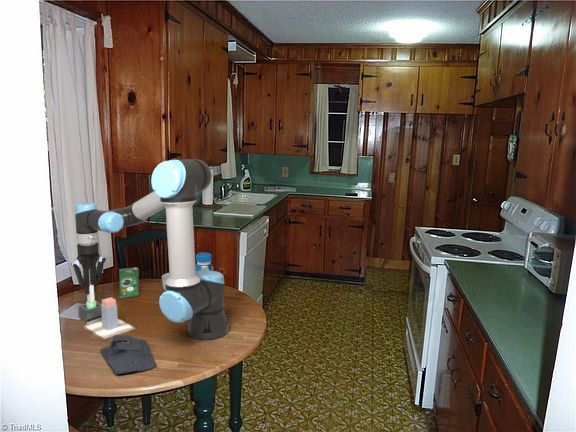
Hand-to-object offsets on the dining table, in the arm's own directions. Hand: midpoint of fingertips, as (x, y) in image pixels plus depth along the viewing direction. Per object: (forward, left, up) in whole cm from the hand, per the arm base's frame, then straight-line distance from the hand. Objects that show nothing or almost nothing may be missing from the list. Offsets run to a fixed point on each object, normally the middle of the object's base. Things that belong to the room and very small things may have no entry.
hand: (90, 300), depth 168 cm
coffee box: (+10, -22, -7) cm, 25 cm away
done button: (0, 0, -5) cm, 5 cm away
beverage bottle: (-14, -45, -7) cm, 48 cm away
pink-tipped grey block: (-14, 0, -7) cm, 16 cm away
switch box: (0, 0, -7) cm, 7 cm away
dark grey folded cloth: (-38, +7, -8) cm, 40 cm away
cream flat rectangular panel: (-13, 0, -7) cm, 15 cm away
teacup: (+2, -41, -7) cm, 42 cm away
